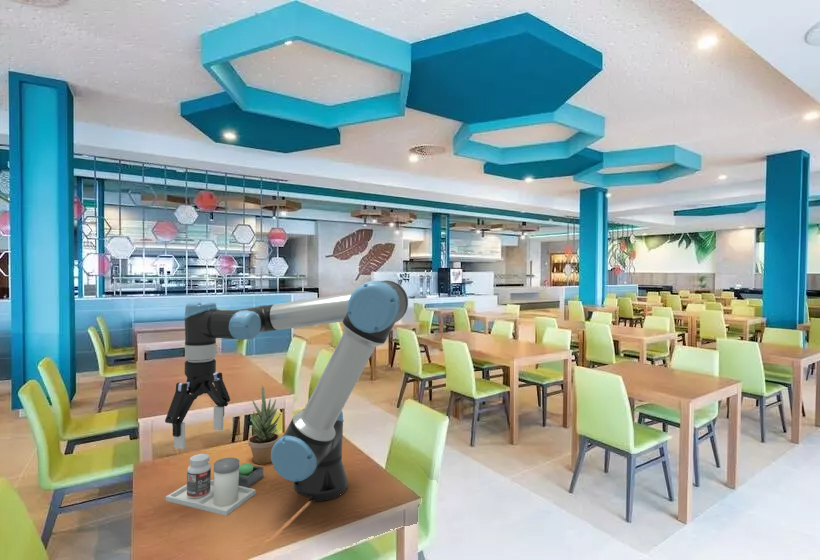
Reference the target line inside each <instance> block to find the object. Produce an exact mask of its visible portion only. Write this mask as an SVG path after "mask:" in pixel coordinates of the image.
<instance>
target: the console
mask: <svg viewBox="0 0 820 560" xmlns="http://www.w3.org/2000/svg"><path fill="white" fill-rule="evenodd" d="M252 465H253V472H252V473H251V474H249V475H248V476H246V475H241V474H239V486H242V487H247V488H251V486H253V485H254V484H255V483H256V482H258V481H260V480H261V479H262V478H263V477H264V466H258V465H254V464H252Z"/></svg>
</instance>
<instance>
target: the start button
mask: <svg viewBox="0 0 820 560" xmlns="http://www.w3.org/2000/svg"><path fill="white" fill-rule="evenodd" d="M253 465H254V464H252V463H242V464H239V474H241V475H246V476H248V475H249V474H251V473H252V472H253Z"/></svg>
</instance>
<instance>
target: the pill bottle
mask: <svg viewBox="0 0 820 560" xmlns="http://www.w3.org/2000/svg"><path fill="white" fill-rule="evenodd" d="M209 461H210V455H209V454H208V453H198V454H194V455H193V456H190V458H189V464H190V465H189V466H188V467H187V470H186V484H187V496H188V497H189V498H193V499H196V498H201V497H204V496H206V495H208V494H209V492H210V480H212V478H211V476H212V475H211V473H212V472H211V471H212V465H211V463H209Z"/></svg>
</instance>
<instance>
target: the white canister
mask: <svg viewBox="0 0 820 560" xmlns="http://www.w3.org/2000/svg"><path fill="white" fill-rule="evenodd" d="M239 466H240V460H239V458H236V457H224V458H223V457H222V458H220V459H217V460H216V461H215V462H214V463H213V480H214V499H213V503H214V505H216V506H220V507H223V506H229V505H232V504H234V503H235V502H237V500H238V486H239Z"/></svg>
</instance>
